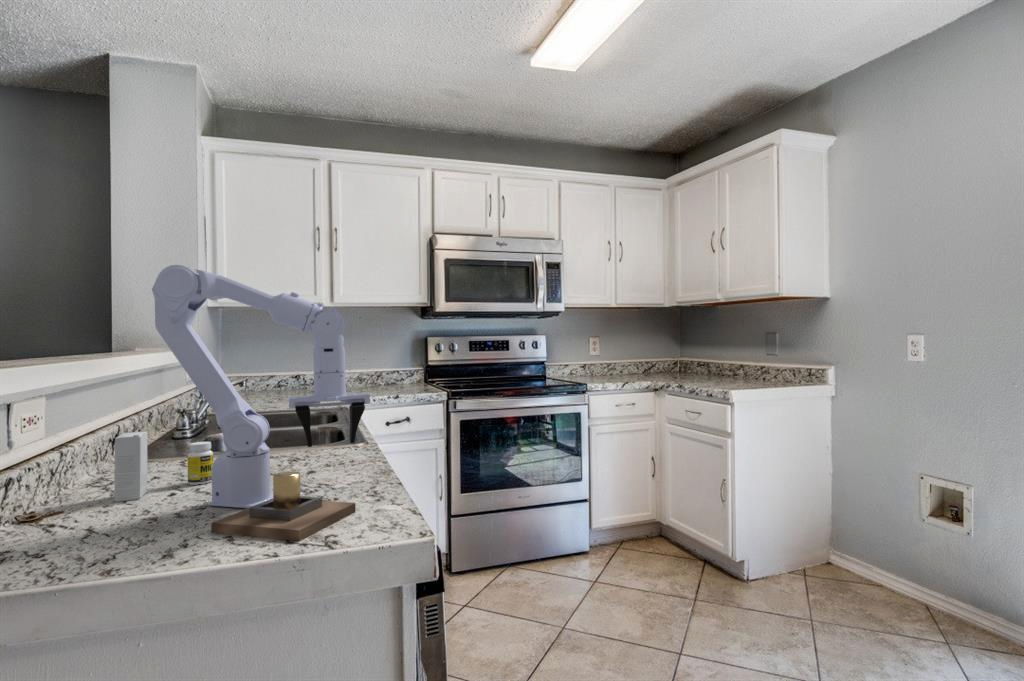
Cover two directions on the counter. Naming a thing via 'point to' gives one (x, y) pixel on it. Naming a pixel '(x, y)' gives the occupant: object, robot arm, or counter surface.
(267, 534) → the jig plate
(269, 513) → the frame
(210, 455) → the supplement bottle
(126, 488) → the skincare box
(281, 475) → the brass cylinder
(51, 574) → the counter surface
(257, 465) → the robot arm
